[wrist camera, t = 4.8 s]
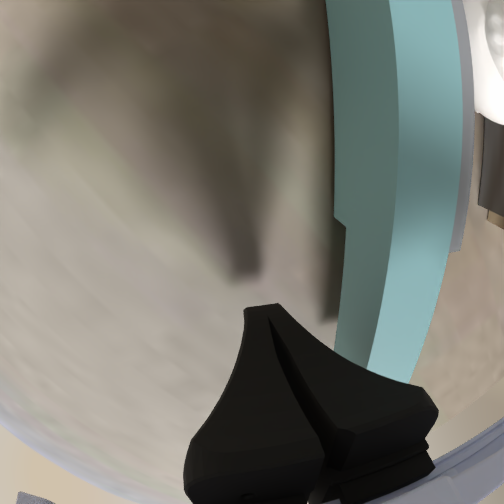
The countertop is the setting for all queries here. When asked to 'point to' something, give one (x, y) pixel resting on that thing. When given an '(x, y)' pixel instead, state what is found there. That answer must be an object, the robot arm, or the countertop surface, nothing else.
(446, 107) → the movable jaw
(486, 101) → the white ribbed dome
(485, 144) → the wooden block
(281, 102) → the countertop surface
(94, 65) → the countertop surface
